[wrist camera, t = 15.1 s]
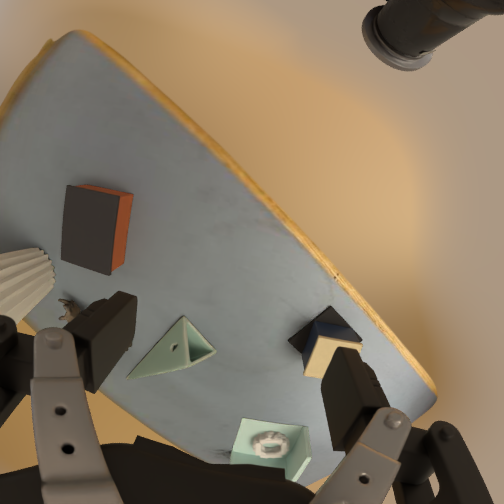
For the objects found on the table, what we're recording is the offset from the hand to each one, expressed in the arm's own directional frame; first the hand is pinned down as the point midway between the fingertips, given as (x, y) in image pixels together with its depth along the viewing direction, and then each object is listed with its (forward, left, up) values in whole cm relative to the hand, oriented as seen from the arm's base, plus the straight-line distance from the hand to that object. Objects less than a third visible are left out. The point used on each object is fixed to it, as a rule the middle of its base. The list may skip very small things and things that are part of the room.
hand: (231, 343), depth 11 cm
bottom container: (+5, -21, -28) cm, 35 cm away
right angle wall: (+39, +12, -28) cm, 50 cm away
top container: (+14, +14, -28) cm, 34 cm away
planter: (+25, -8, -28) cm, 39 cm away
